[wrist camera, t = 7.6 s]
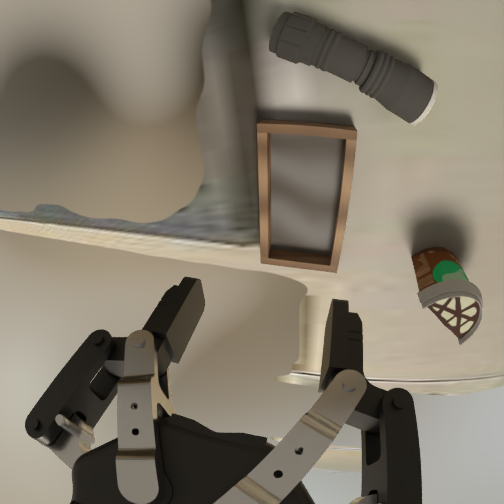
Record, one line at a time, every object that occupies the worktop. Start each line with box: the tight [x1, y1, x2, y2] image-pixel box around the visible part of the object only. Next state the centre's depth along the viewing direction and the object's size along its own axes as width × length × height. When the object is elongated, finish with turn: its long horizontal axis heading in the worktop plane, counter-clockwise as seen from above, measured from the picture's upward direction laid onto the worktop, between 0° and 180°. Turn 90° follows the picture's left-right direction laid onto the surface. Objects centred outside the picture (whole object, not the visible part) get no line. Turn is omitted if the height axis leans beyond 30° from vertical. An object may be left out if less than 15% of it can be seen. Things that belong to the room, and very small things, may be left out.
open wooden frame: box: [257, 120, 357, 273], centre depth 31 cm, size 18×10×2 cm, turn 2°
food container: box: [412, 247, 483, 345], centre depth 28 cm, size 12×6×10 cm, turn 57°
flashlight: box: [269, 12, 437, 125], centre depth 19 cm, size 15×5×5 cm, turn 70°
